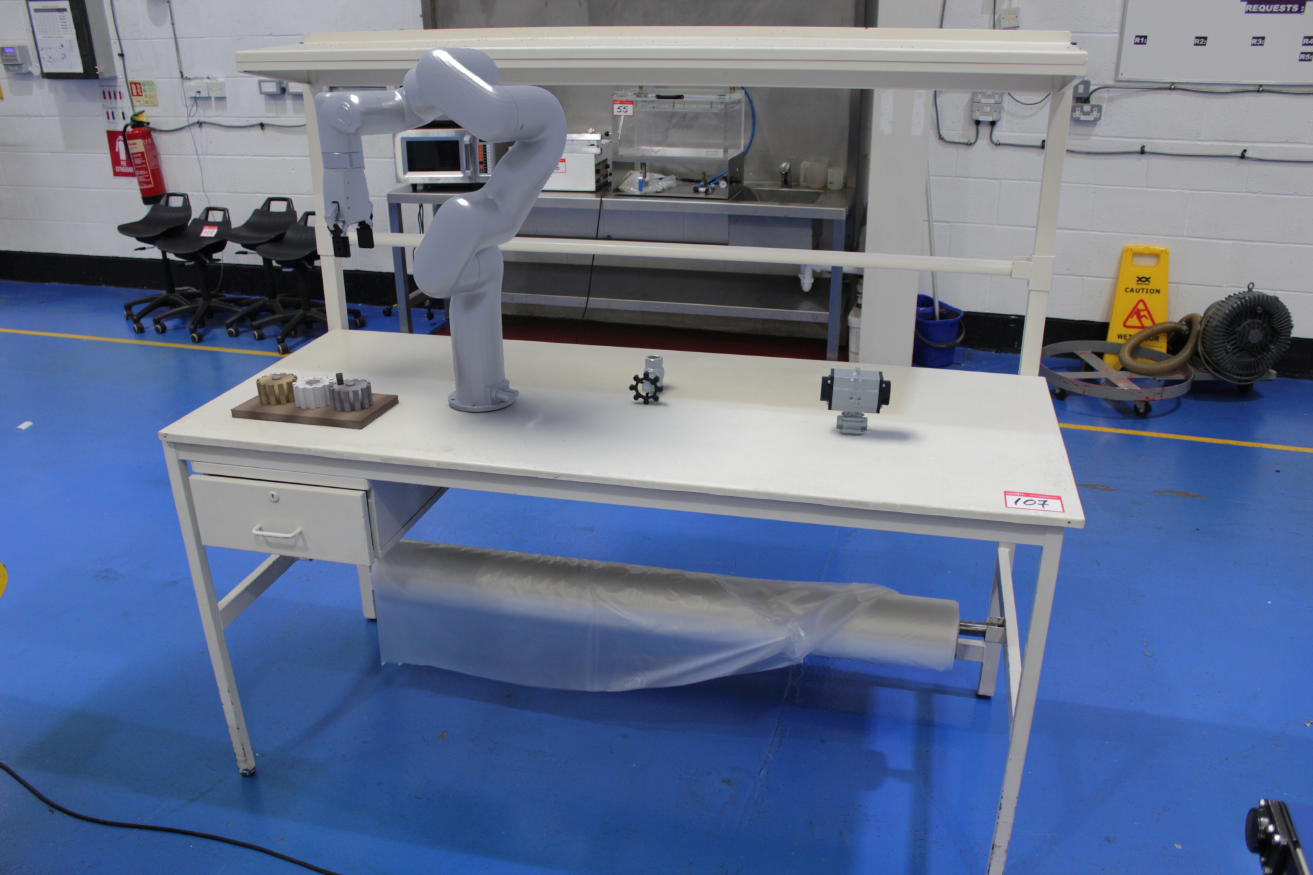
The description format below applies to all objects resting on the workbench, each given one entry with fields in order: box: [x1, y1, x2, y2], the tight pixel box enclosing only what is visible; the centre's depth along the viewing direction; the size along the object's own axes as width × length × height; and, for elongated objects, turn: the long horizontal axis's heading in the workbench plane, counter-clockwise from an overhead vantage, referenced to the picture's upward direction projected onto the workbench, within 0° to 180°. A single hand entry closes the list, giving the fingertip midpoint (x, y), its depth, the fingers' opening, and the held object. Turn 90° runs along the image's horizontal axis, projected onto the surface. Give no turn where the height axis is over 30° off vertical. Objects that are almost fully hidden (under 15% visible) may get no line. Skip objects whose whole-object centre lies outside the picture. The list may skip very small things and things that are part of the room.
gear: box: [292, 375, 335, 409], centre depth 163 cm, size 7×7×4 cm
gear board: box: [230, 372, 400, 430], centre depth 163 cm, size 26×14×8 cm, turn 78°
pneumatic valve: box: [819, 366, 892, 436], centre depth 153 cm, size 6×12×12 cm, turn 79°
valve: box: [628, 354, 665, 406], centre depth 173 cm, size 7×7×12 cm
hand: (355, 252), depth 173 cm, fingers open, 9 cm apart
